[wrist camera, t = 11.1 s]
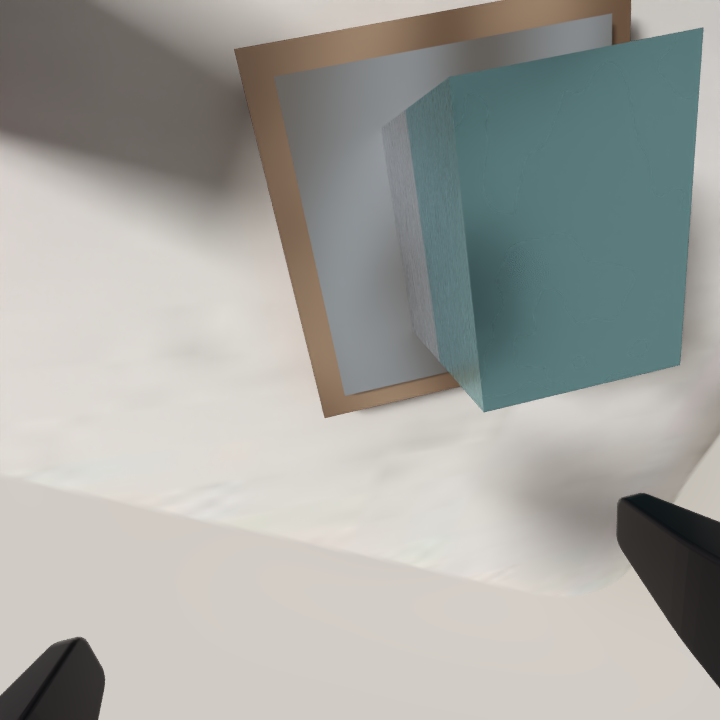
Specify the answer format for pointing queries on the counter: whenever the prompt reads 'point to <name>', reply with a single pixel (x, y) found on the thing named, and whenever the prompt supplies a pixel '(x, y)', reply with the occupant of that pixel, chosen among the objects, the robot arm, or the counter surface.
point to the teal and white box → (550, 217)
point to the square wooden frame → (377, 169)
